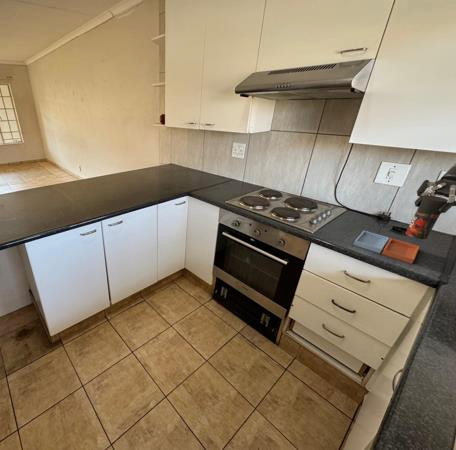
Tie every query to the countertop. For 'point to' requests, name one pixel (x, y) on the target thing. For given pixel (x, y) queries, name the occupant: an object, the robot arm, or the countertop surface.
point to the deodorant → (425, 217)
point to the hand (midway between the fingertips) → (427, 208)
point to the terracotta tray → (401, 250)
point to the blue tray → (371, 241)
